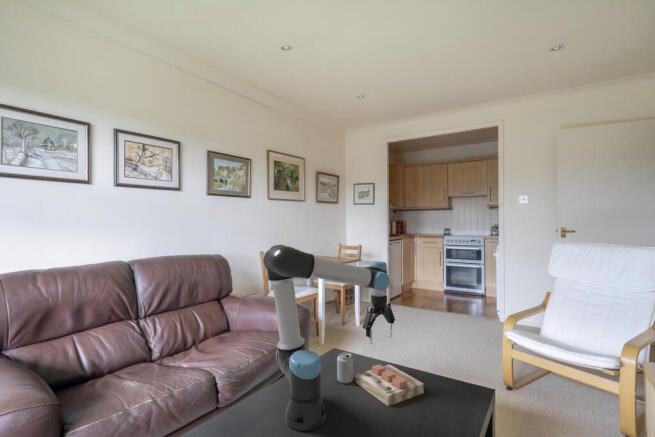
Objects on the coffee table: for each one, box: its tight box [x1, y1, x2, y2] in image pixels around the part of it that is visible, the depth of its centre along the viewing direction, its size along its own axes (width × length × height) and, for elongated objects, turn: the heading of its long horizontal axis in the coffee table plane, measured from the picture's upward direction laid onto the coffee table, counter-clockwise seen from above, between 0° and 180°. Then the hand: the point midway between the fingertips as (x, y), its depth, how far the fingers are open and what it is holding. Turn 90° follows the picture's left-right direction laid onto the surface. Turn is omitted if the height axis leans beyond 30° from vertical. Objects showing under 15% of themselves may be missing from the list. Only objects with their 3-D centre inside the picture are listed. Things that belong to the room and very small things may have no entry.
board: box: [355, 364, 425, 407], centre depth 144 cm, size 20×22×4 cm
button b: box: [382, 370, 396, 383], centre depth 144 cm, size 4×4×4 cm
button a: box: [392, 376, 407, 390], centre depth 138 cm, size 4×4×4 cm
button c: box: [371, 364, 386, 376], centre depth 150 cm, size 4×4×4 cm
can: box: [336, 352, 354, 385], centre depth 151 cm, size 8×8×12 cm
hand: (379, 340), depth 152 cm, fingers open, 13 cm apart
